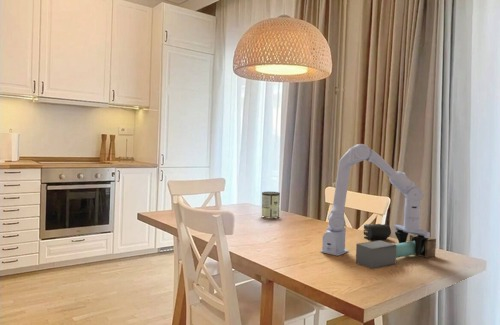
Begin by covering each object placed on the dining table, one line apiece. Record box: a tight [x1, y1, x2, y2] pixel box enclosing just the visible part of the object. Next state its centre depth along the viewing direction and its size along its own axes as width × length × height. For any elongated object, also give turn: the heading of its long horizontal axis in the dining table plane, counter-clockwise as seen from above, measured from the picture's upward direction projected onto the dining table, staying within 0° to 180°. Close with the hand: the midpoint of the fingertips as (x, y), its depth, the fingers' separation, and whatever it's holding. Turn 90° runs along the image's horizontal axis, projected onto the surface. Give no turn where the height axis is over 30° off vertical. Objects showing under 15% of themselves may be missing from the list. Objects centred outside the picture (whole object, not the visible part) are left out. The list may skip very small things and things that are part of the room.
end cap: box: [363, 223, 392, 241], centre depth 175 cm, size 10×7×7 cm
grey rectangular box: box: [355, 239, 397, 270], centre depth 139 cm, size 12×8×7 cm, turn 120°
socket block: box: [409, 234, 437, 259], centre depth 152 cm, size 5×8×7 cm, turn 30°
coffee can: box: [261, 191, 281, 219], centre depth 221 cm, size 10×10×14 cm
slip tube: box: [393, 240, 425, 259], centre depth 146 cm, size 24×5×5 cm, turn 120°
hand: (410, 252), depth 148 cm, fingers open, 6 cm apart
